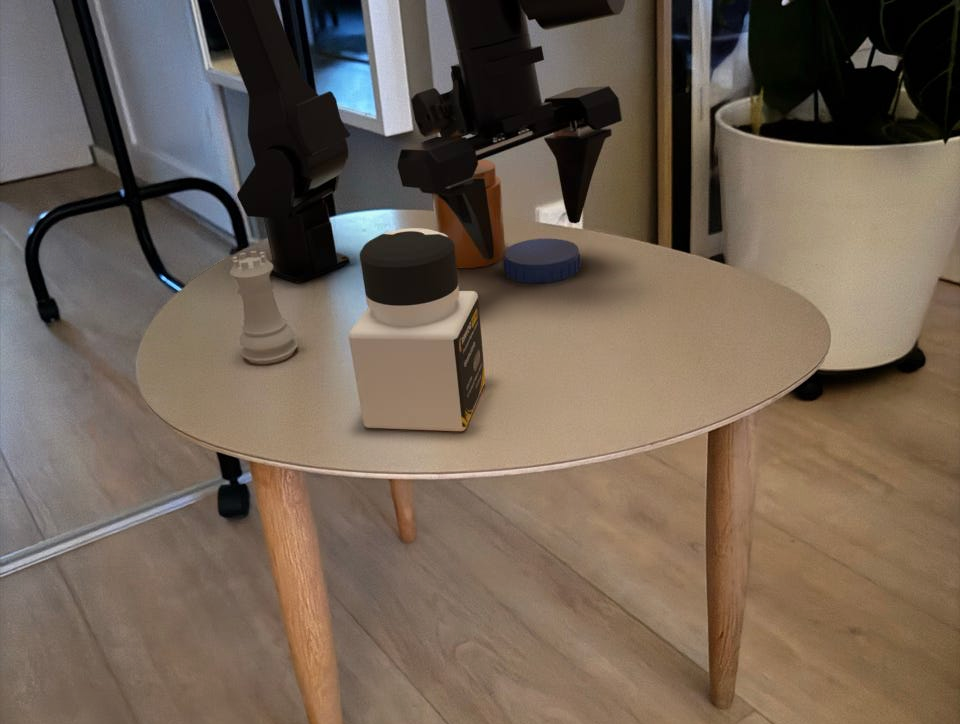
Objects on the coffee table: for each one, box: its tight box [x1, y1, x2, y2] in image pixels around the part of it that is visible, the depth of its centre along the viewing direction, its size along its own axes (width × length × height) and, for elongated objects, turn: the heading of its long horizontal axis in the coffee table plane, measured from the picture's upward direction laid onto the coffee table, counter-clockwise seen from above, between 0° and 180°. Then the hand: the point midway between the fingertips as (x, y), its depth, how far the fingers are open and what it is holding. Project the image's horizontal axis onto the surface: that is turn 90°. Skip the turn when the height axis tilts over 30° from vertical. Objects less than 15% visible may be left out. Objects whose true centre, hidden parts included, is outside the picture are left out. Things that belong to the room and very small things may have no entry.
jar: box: [431, 159, 506, 269], centre depth 86 cm, size 6×6×8 cm
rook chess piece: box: [229, 250, 298, 365], centre depth 71 cm, size 4×4×8 cm
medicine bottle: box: [348, 227, 486, 432], centre depth 61 cm, size 7×7×12 cm
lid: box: [502, 237, 581, 284], centre depth 83 cm, size 7×7×2 cm
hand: (532, 240), depth 78 cm, fingers open, 9 cm apart
